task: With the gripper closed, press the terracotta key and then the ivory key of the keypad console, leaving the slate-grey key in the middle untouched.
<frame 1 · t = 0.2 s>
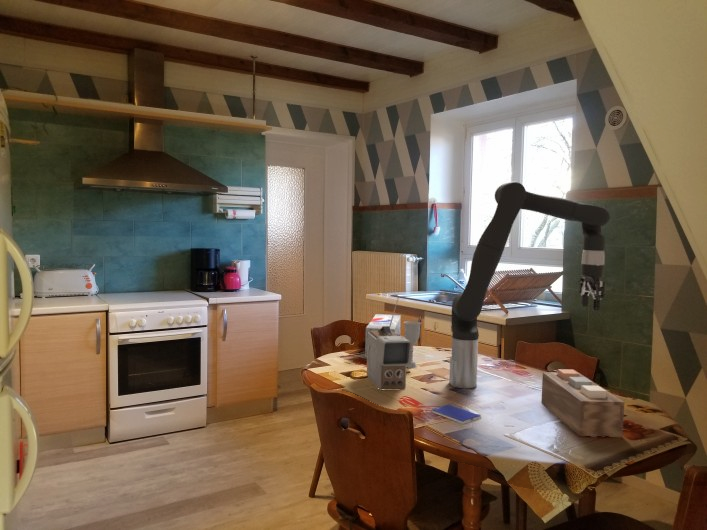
hand: (590, 308, 201), 29 cm above the table, fingers open, 8 cm apart
terracotta key: (568, 378, 179), point 10 cm above the table, slide at 0.0 cm
soda pack: (383, 350, 257), on the table
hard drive: (456, 417, 171), on the table
portable television: (388, 383, 203), on the table
keypad console: (578, 418, 170), on the table
slate key: (579, 387, 170), point 10 cm above the table, slide at 0.0 cm
chalice: (411, 367, 227), on the table
ivory key: (593, 396, 161), point 10 cm above the table, slide at 0.0 cm
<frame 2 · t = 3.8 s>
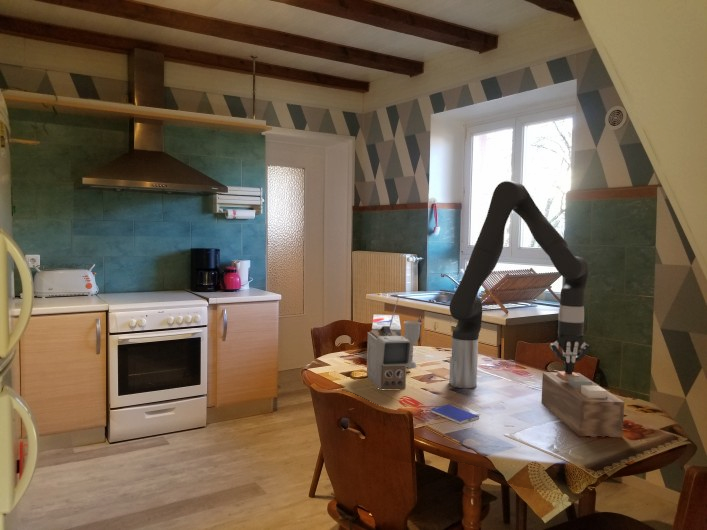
hand: (568, 373, 178), 11 cm above the table, fingers closed
terracotta key: (568, 380, 179), point 9 cm above the table, slide at 0.7 cm, touching gripper
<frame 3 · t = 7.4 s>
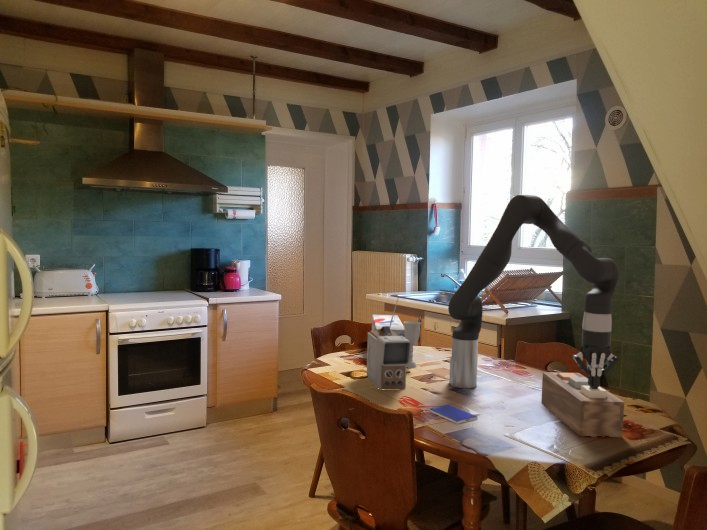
hand: (593, 388, 160), 12 cm above the table, fingers closed
terracotta key: (567, 382, 179), point 8 cm above the table, slide at 1.1 cm
ivory key: (593, 396, 161), point 10 cm above the table, slide at 0.0 cm, touching gripper
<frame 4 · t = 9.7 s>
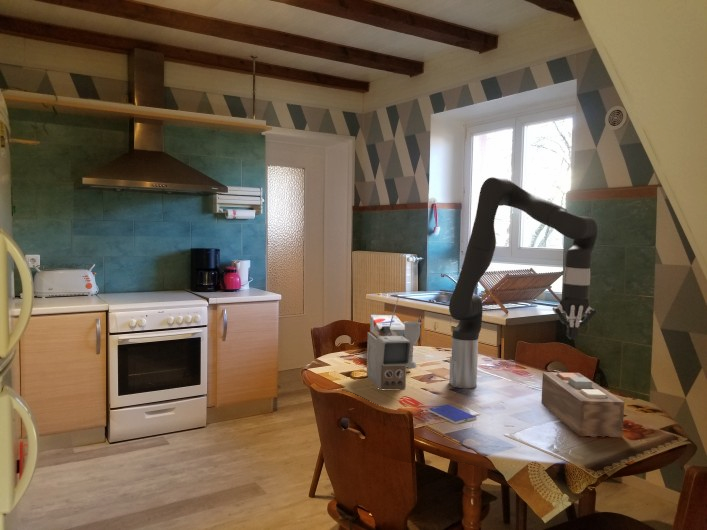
hand: (571, 338, 171), 24 cm above the table, fingers closed
ivory key: (592, 400, 161), point 8 cm above the table, slide at 1.1 cm
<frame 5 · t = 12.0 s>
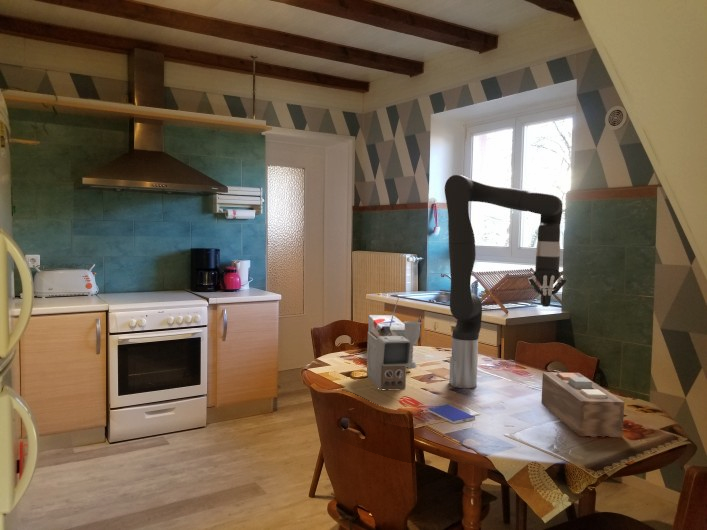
hand: (545, 306, 189), 31 cm above the table, fingers closed
at the end: terracotta key slide at 1.1 cm; ivory key slide at 1.1 cm; slate key slide at 0.0 cm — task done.
